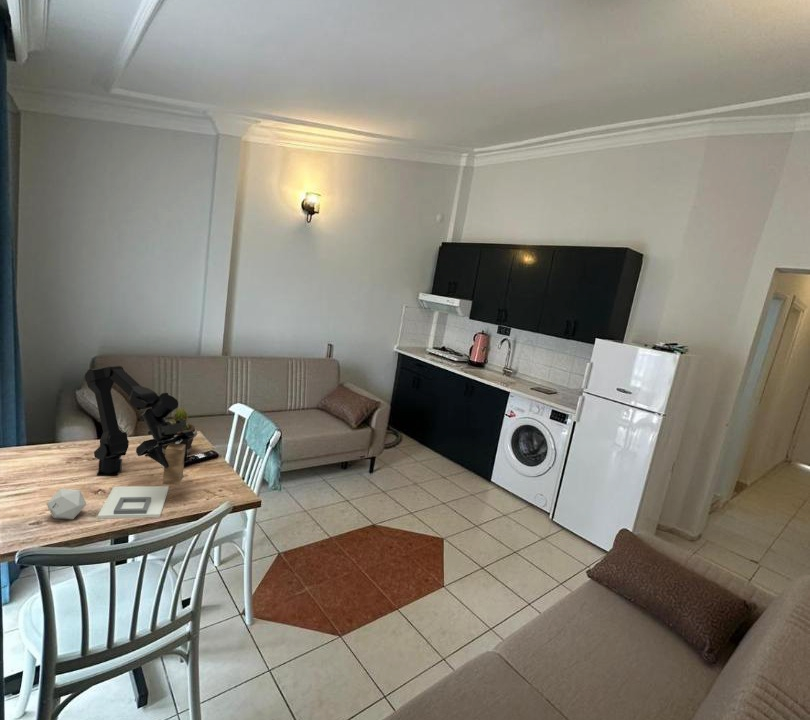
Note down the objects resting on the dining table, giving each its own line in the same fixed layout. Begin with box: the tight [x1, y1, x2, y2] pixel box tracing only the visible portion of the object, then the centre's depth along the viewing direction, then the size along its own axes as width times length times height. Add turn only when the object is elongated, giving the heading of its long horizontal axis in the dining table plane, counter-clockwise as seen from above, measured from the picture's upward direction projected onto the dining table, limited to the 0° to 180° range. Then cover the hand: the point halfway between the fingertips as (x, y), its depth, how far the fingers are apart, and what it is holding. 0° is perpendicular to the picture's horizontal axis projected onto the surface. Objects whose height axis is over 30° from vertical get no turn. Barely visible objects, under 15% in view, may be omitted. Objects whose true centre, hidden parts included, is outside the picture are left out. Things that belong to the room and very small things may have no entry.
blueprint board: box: [96, 485, 170, 520], centre depth 152 cm, size 17×20×2 cm
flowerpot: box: [162, 406, 198, 456], centre depth 193 cm, size 14×15×20 cm
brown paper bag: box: [162, 443, 186, 486], centre depth 155 cm, size 5×5×12 cm
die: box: [46, 488, 87, 520], centre depth 138 cm, size 8×9×10 cm
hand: (177, 464), depth 154 cm, fingers closed on brown paper bag, 7 cm apart
